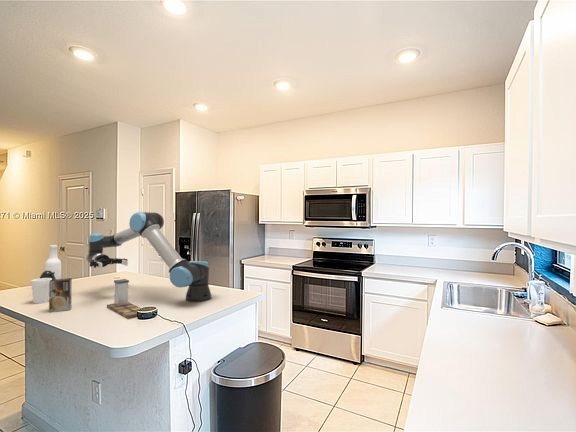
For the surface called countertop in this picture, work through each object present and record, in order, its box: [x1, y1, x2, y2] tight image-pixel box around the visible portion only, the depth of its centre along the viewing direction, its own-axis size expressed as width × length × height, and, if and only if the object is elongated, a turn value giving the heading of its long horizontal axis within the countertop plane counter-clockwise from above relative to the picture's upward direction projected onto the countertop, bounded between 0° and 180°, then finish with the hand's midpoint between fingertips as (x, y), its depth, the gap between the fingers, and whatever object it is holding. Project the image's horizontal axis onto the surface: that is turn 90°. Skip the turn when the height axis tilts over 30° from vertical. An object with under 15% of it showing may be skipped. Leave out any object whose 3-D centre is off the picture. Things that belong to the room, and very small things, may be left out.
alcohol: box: [44, 244, 62, 279], centre depth 206 cm, size 9×9×30 cm
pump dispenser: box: [39, 270, 56, 279], centre depth 192 cm, size 10×10×15 cm
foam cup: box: [30, 277, 52, 305], centre depth 175 cm, size 10×9×13 cm
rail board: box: [106, 301, 143, 320], centre depth 161 cm, size 28×10×2 cm, turn 49°
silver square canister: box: [113, 278, 130, 306], centre depth 166 cm, size 6×6×13 cm
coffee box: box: [48, 277, 73, 313], centre depth 161 cm, size 9×6×16 cm
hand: (114, 264), depth 173 cm, fingers open, 13 cm apart
